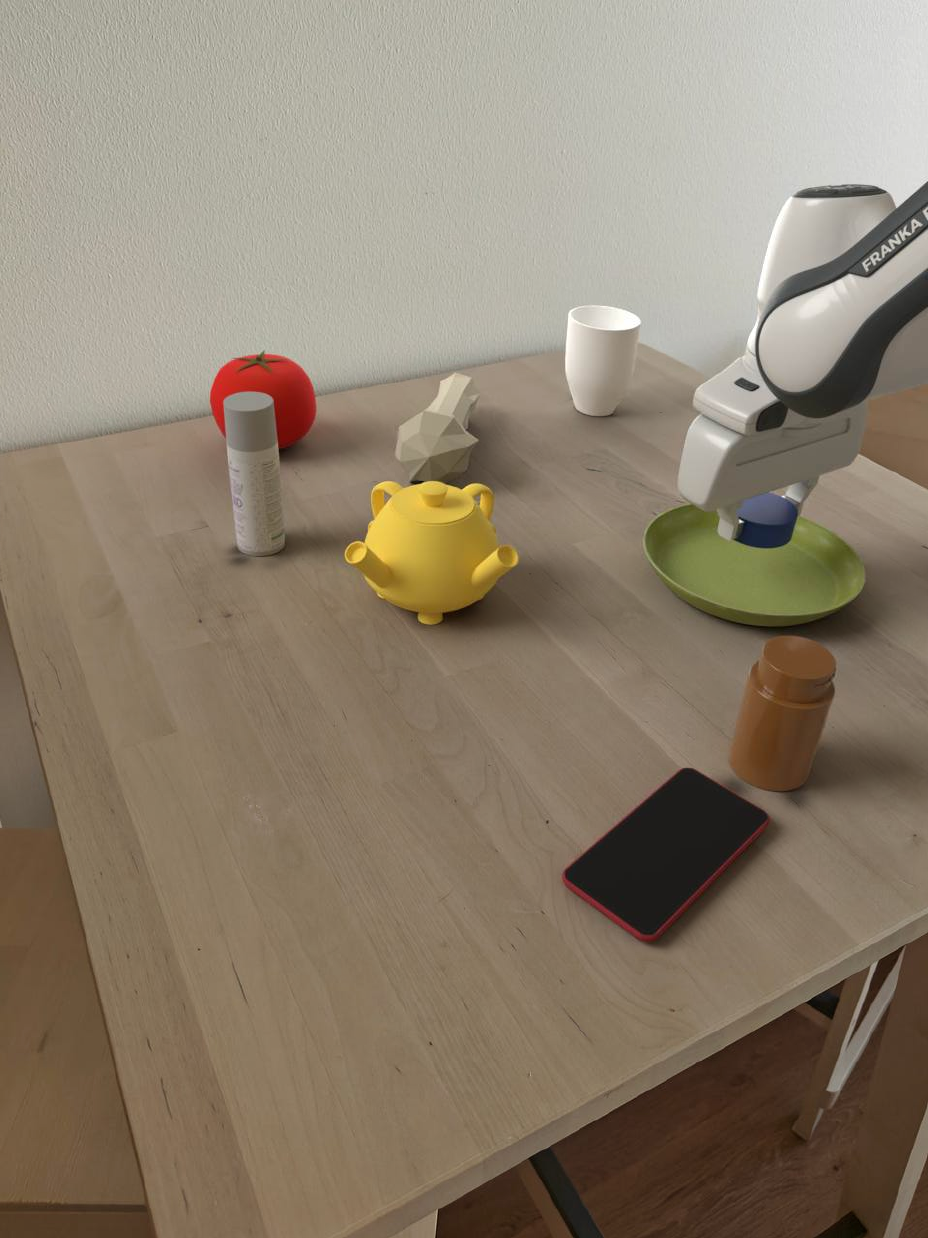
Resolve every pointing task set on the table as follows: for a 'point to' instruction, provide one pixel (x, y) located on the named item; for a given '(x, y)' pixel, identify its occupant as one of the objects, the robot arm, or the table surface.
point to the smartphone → (665, 853)
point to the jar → (783, 713)
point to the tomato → (269, 392)
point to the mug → (600, 357)
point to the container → (254, 472)
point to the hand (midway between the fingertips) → (758, 525)
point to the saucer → (753, 569)
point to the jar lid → (767, 521)
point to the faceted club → (440, 433)
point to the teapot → (431, 547)
